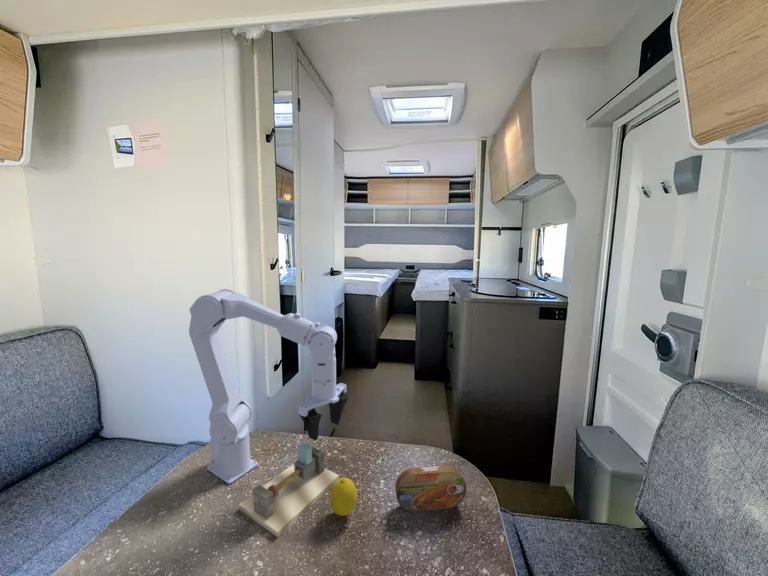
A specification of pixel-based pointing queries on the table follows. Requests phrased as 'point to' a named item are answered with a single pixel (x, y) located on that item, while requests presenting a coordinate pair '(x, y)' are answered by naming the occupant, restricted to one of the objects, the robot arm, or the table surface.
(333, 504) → the lemon
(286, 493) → the rod and block board
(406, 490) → the tin
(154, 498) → the table surface
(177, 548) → the table surface
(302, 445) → the sleeve
